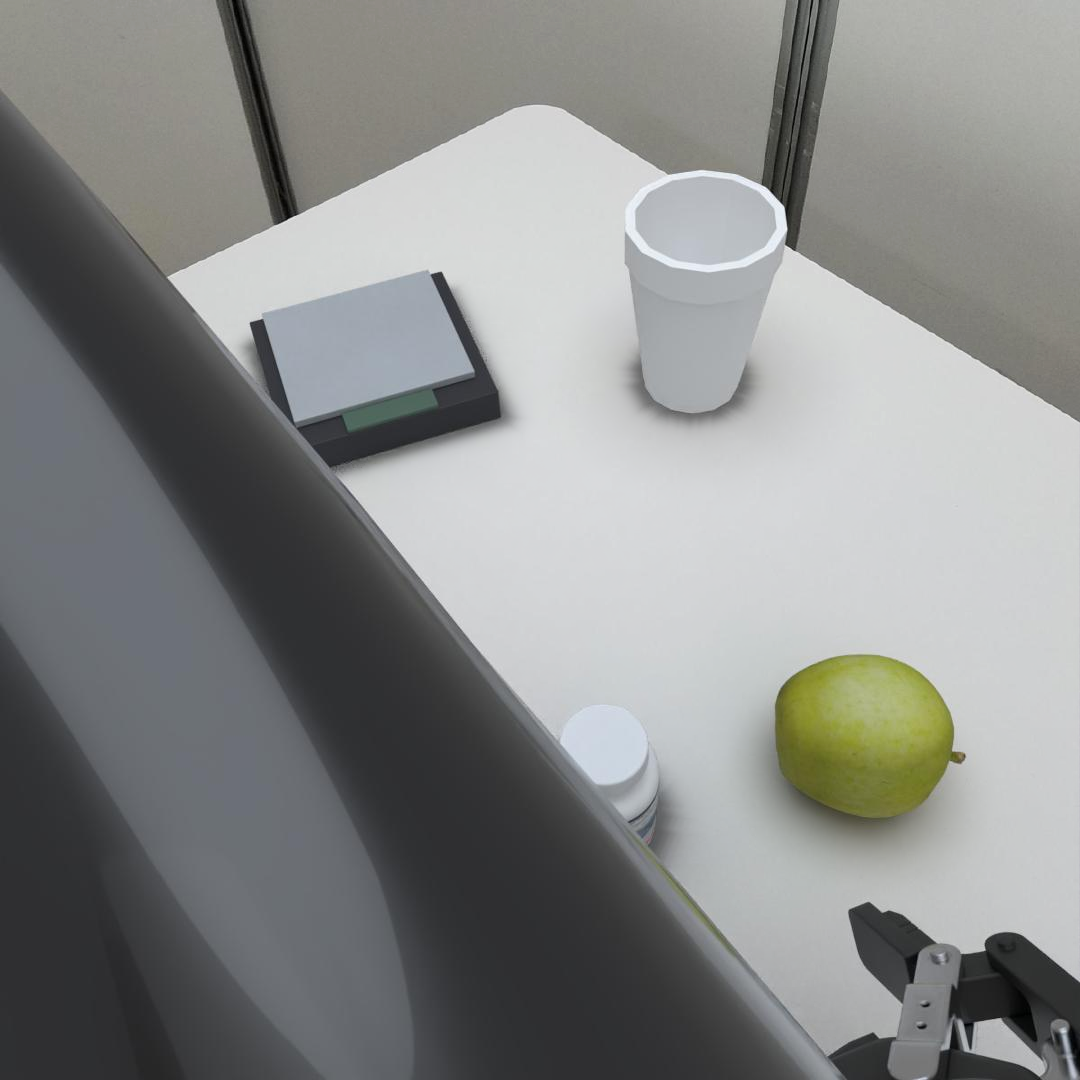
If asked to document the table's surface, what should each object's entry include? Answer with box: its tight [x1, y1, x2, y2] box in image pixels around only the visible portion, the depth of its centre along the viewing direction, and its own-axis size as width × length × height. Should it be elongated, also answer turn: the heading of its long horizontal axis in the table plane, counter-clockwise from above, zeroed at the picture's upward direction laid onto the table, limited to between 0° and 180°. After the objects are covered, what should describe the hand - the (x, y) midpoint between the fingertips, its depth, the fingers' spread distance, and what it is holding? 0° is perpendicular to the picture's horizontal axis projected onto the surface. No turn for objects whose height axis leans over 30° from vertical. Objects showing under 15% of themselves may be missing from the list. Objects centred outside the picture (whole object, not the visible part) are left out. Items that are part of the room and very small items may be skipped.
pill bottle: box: [557, 703, 661, 846], centre depth 52 cm, size 5×5×9 cm
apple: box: [774, 653, 967, 819], centre depth 54 cm, size 8×9×8 cm
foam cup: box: [624, 169, 788, 414], centre depth 69 cm, size 10×9×13 cm
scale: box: [249, 269, 502, 468], centre depth 74 cm, size 14×13×3 cm
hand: (745, 976), depth 36 cm, fingers open, 8 cm apart
